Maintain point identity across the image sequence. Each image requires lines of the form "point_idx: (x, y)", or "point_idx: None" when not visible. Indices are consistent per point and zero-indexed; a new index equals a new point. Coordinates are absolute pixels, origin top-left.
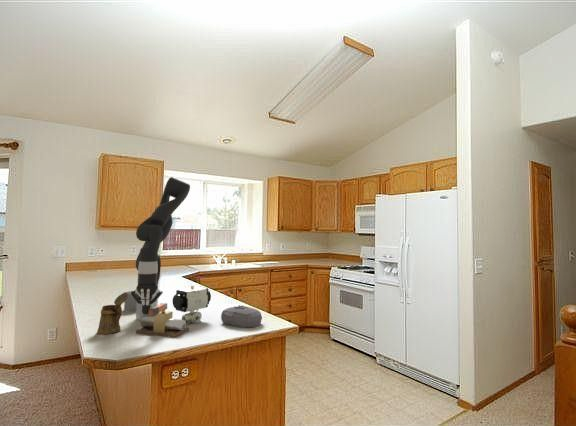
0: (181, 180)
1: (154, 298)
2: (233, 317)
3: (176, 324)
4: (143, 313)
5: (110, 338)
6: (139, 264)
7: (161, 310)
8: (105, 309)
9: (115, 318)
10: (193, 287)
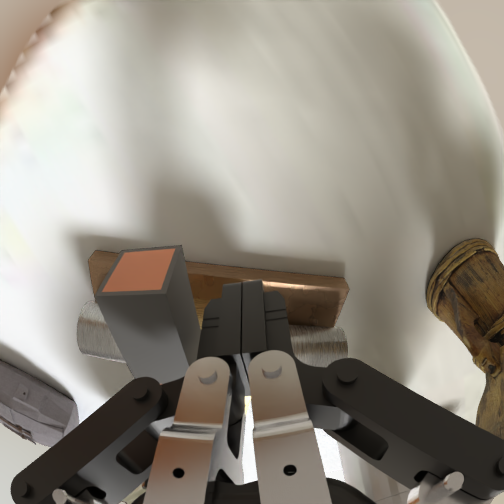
0: None
1: (93, 441)
2: (11, 390)
3: (101, 318)
4: (258, 282)
5: (431, 189)
6: None
7: None
8: None
9: (472, 312)
10: None
